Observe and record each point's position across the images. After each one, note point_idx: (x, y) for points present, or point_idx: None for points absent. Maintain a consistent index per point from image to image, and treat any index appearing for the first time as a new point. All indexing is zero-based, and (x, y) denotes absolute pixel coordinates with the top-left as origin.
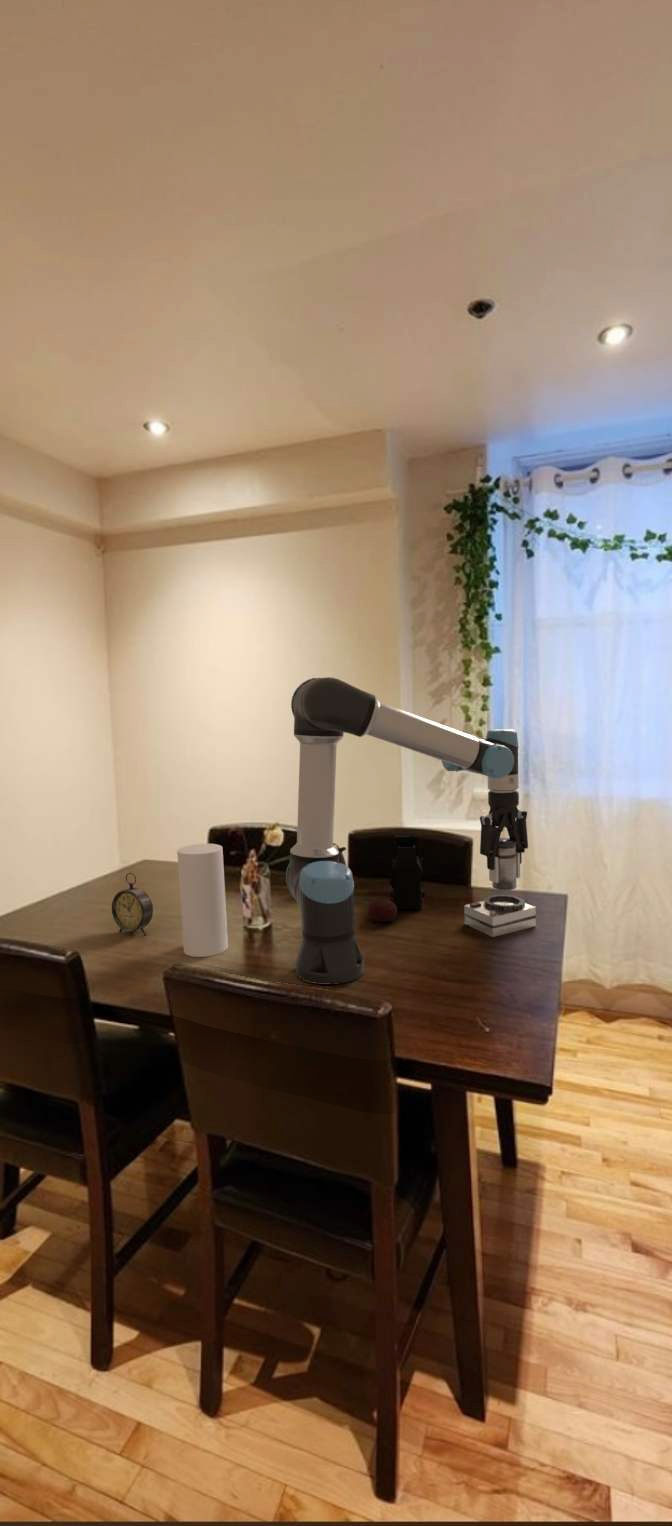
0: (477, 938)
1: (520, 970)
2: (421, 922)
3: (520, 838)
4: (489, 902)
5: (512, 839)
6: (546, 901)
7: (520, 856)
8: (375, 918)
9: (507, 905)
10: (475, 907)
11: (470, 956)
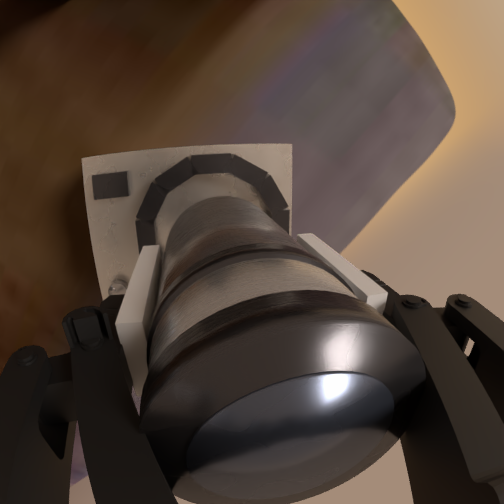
0: (77, 270)
1: None
2: (12, 93)
3: (478, 370)
4: (149, 224)
5: (397, 425)
6: (422, 134)
7: None
8: None
9: None
10: (102, 199)
11: (29, 343)
